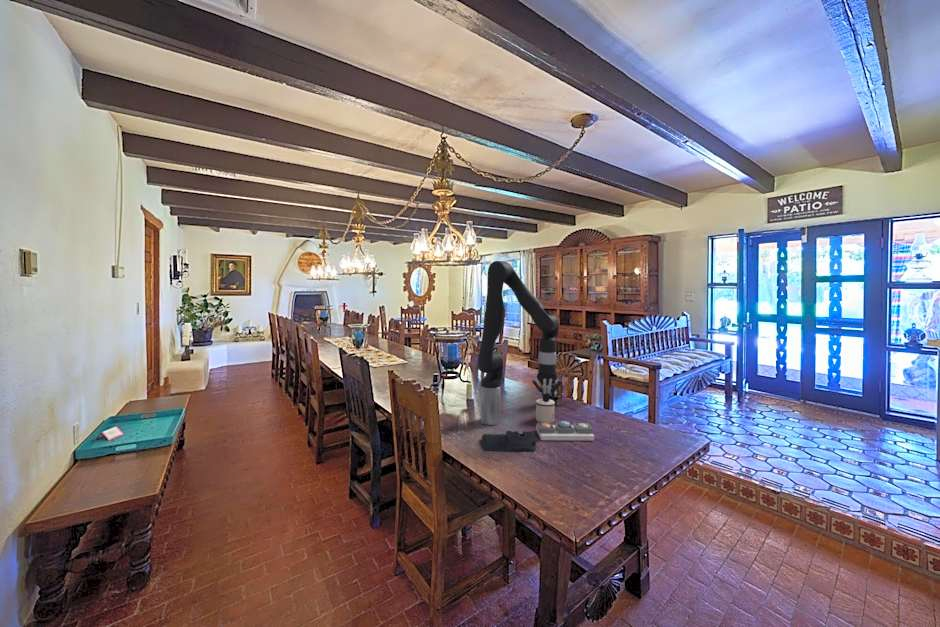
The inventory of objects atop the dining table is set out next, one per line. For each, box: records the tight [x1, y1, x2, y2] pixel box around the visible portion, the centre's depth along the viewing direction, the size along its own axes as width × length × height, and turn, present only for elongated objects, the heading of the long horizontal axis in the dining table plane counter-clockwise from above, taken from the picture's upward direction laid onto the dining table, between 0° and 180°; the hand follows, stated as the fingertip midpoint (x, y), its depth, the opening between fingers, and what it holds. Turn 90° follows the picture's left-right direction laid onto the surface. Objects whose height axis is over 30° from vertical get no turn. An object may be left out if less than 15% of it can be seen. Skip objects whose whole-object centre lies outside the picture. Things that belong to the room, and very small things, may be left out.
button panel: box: [535, 422, 595, 442], centre depth 162 cm, size 22×12×4 cm, turn 90°
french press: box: [541, 372, 563, 408], centre depth 203 cm, size 12×9×23 cm
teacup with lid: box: [535, 397, 555, 424], centre depth 180 cm, size 12×9×12 cm
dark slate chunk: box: [481, 430, 538, 453], centre depth 152 cm, size 15×22×5 cm
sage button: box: [578, 422, 588, 428], centre depth 161 cm, size 4×4×2 cm
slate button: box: [558, 420, 571, 428], centre depth 161 cm, size 4×4×2 cm
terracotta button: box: [540, 423, 551, 428], centre depth 161 cm, size 4×4×2 cm
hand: (546, 401), depth 161 cm, fingers closed
